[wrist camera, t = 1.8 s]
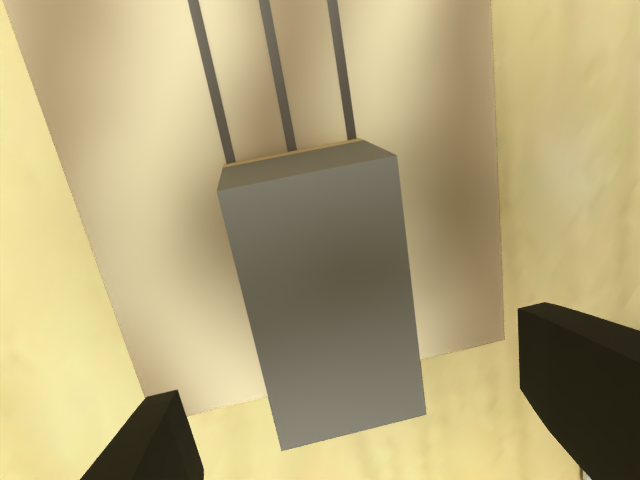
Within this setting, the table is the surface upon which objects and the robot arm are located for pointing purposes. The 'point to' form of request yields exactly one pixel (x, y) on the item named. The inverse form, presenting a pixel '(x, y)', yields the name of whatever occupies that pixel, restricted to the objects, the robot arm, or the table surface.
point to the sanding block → (326, 287)
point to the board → (263, 155)
